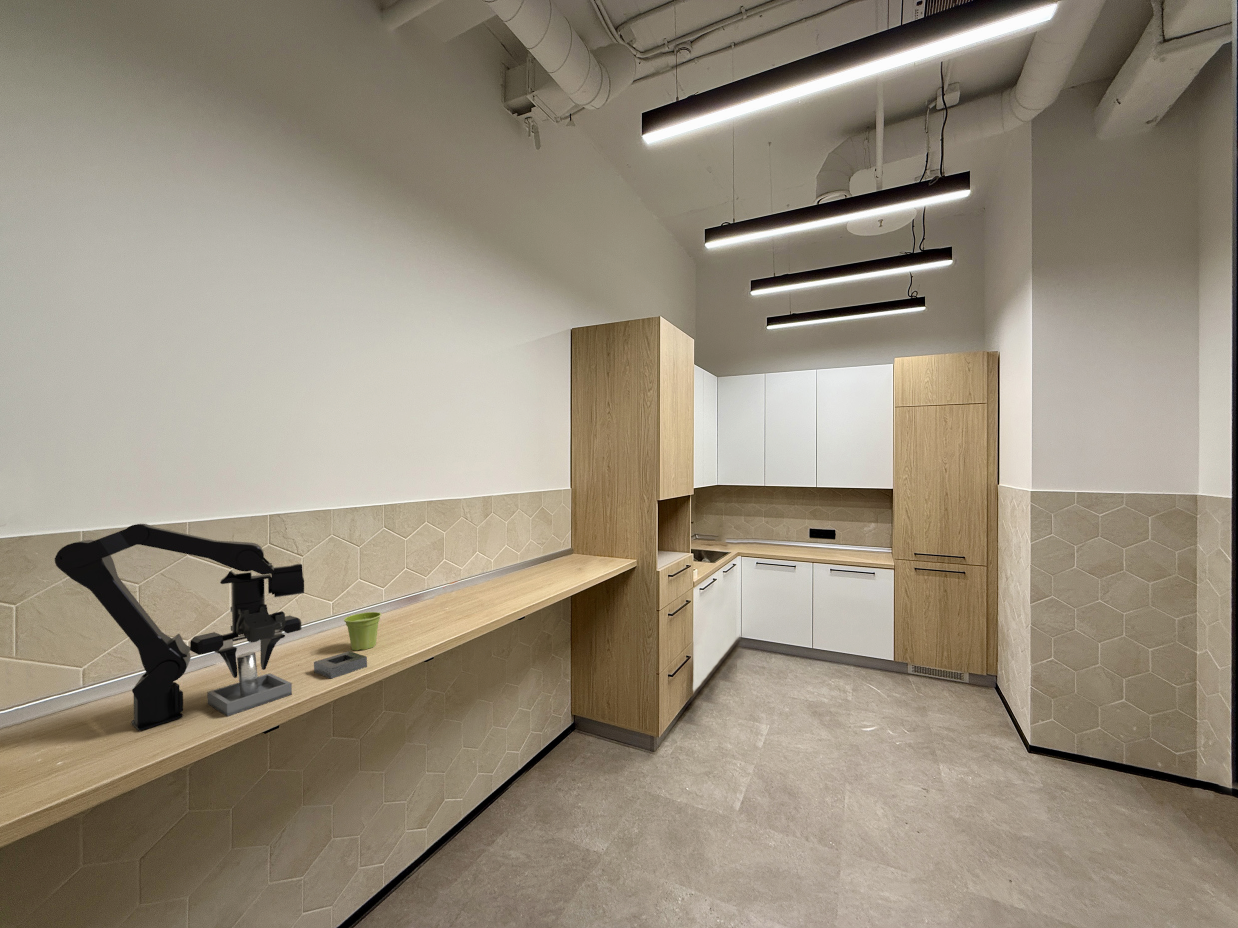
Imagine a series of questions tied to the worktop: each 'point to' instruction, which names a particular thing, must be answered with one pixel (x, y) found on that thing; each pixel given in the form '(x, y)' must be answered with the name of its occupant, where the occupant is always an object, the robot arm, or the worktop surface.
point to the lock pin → (247, 674)
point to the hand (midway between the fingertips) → (249, 673)
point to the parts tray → (232, 703)
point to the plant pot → (363, 629)
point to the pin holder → (340, 664)
